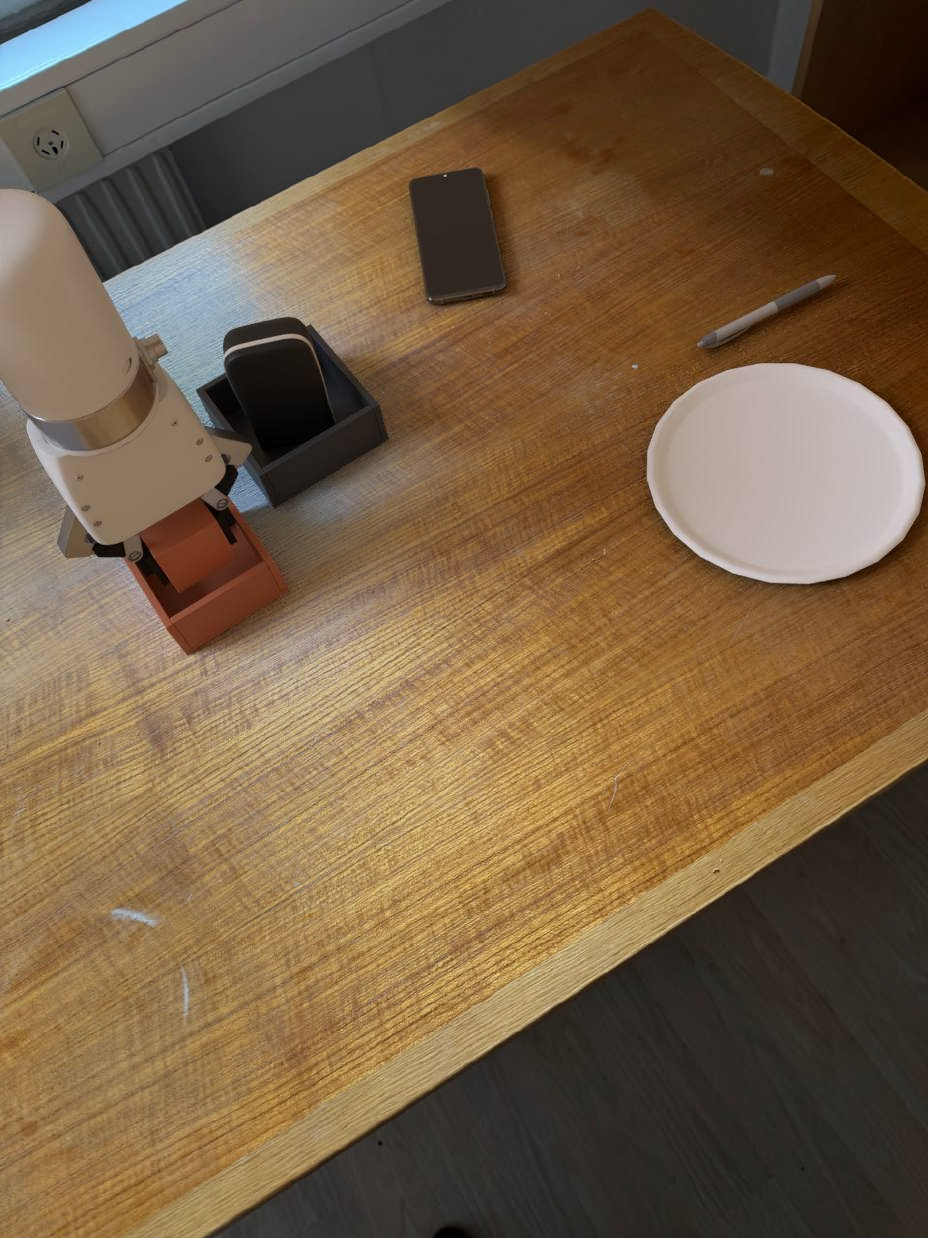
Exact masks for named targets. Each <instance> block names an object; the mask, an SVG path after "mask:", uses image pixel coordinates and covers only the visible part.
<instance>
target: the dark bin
mask: <svg viewBox="0 0 928 1238" xmlns="http://www.w3.org/2000/svg"><path fill="white" fill-rule="evenodd" d="M305 326H306V328H307V329H308V332H309V334H310V337H311V339H312V342H313V345H314V347H315V350H316V354H317V357H318V360H319V363H320V369H321V372H322V375H323V379H324V383H325V386H326V390H327V395H328V399H329V402H330V405H331V408H332V411H333V413H334V416H335V419H336V421H337V424H336V425H334V426H332V427H331V428H329V429H327V430H326V431H324V432H322V433H321V434H319V435H317V436H316V437H314V438H312V439H311V440H309V441H305V442H300V443H296V444H291V445H286V446H281V447H276V448H270V449H265V450H264V449H262V448H261V447H260V444H259V442H258V439H257V437H256V434H255V432H254V430H253V428H252V426H251V424H250V422H249V420H248V419H247V417H246V415H245V413H244V411H243V409H242V407H241V406H240V404H239V402H238V400H237V398H236V396H235V393H234V391H233V389H232V387H231V385H230V382H229V380H228V377H227V375H226V372H225V371H224V372H223V373H222V374H220V375H219V376H217V377H215V378H212V379H211V380H210V381H208V382H206V383H204V384H202V385H201V386H199V387H197V388H195V392H196V394H197V396H198V398H199V401H200V402H201V404H202V406H203V408H204V410H205V412H206V414H207V417H208V418H209V420H210V422H211V424H212V426H213V427H214V428H218V429H223V430H227V431H232V432H236V433H241V434H243V435H244V436H245V437H246V439H247V440H248V442H249V443H250V444H251V446H252V450H251V452H250V454H249V455H248V457H247V458H246V460H245V462H244V463H243V465H242V467H243V468H244V469H245V471H246V472H247V474H248V475H249V476H250V477H251V479H252V480H253V481H254V483H255V484H256V486H257V487H258V488H259V490H260V491H261V493H262V494H263V495H264V497H265V498H266V499H267V502H269V504H270V505H271V506H272V508H273V509H277V508H279V507H280V506H281V505H283V504H285V503H286V502H288V501H291V499H293V498H295V497H297V496H298V495H300V494H301V493H303V492H306V490H308V489H310V488H311V487H313V486H314V485H316V484H318V483H320V482H322V481H323V480H325V479H326V478H328V477H329V476H332V475H333V474H335V473H337V472H338V471H340V470H342V469H343V468H344V467H346V466H348V465H349V464H351V463H352V462H354V461H356V460H358V459H359V458H361V457H362V456H364V455H366V454H367V453H369V452H371V451H373V450H374V449H376V448H377V447H379V446H381V445H382V444H384V443H386V442H387V441H389V440H390V438H389V434H388V430H387V427H386V423H385V420H384V415H383V413H382V408H381V404H380V403H379V402H378V401H377V400H376V399H375V398H374V397H373V395H372V394H371V393H370V392H369V390H367V388H366V387H365V386H364V384H362V382H360V380H359V378H358V377H357V376H356V375H355V374H354V373H353V372H352V371H351V369H349V367H348V366H347V365H346V364H345V363H344V361H343V360H342V359H341V358H340V357H339V355H338V354H337V353H336V352H335V351H334V349H332V347H331V346H330V345H329V343H327V341H326V340H325V339H324V338H323V336H321V334H320V333H319V332H318V330H316V329H315V327H314V325H312V324H311V323H309V324H308V325H305Z"/></svg>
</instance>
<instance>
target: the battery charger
mask: <svg viewBox="0 0 928 1238" xmlns="http://www.w3.org/2000/svg"><path fill="white" fill-rule="evenodd" d="M306 326H307V325H305V323H304V322H303V321H301V320H300V319H299V318H297V317H294V316H283V317H277V318H272V319H268V320H267V319H266V320H263V321H258V322H254V323H249V324H245V325H242V326H238V327H235V328H232V329H230V330H229V331H227V333H226V334H225V335H224V337H223V342H222V352H223V353H222V354H223V357H222V364H223V369H224V373H225V372H226V375H227V377H228V380H229V382H230V385H231V387H232V389H233V391H234V393H235V396H236V398H237V400H238V402H239V404H240V406H241V407H242V409H243V411H244V413H245V415H246V417H247V419H248V420H249V422H250V424H251V426H252V428H253V430H254V432H255V434H256V437H257V439H258V442H259V444H260V447H261V448H262V449H264V450H265V449H270V448H276V447H281V446H286V445H291V444H296V443H300V442H305V441H309V440H311V439H312V438H314V437H316V436H317V435H319V434H321V433H322V432H324V431H326V430H327V429H329V428H331V427H332V426H334V425H336V424H337V421H336V419H335V416H334V413H333V411H332V408H331V405H330V402H329V399H328V395H327V390H326V386H325V383H324V379H323V375H322V372H321V369H320V363H319V360H318V357H317V354H316V350H315V347H314V345H313V342H312V339H311V337H310V334H309V332H308V329H307V328H306Z"/></svg>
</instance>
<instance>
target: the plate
mask: <svg viewBox="0 0 928 1238" xmlns="http://www.w3.org/2000/svg"><path fill="white" fill-rule="evenodd" d="M646 452H647V453H646V454H647V456H646V482H647V485H648V489H649V492H650V495H651V499H652V502H653V504H654V507H655V510H656V511H657V513H658V514H659V516H660V517H661V519H662V520H663V521H664V523H665V525H666V526H667V528H668V529H669V530H670V532H671V534H672V535H673V536H674V537H675V538H676V539H678V541H680V542H681V543H682V544H684V545H685V547H687V548H688V549H689V550H690V551H692V552H693V554H695V555H696V556H697V557H698V558H700V559H702V560H704V561H706V562H707V563H709V564H712V565H713V566H716V567H718V568H720V569H721V570H723V571H725V572H727V573H729V574H731V575H733V576H738V577H741V578H744V579H745V578H746V579H750V580H754V581H756V582H757V581H758V582H762V583H764V584H770V585H801V586H802V585H803V586H810V585H814V584H820V583H825V582H830V581H834V580H835V581H836V580H840V579H845V578H847V577H850V576H851V575H854V574H856V573H858V572H860V571H862V570H865V569H866V568H868V567H870V566H873V565H875V564H877V563H879V562H880V561H881V560H882V559H883V558H884V557H886V556H887V555H888V554H889V553H891V551H892V550H893V549H894V548H897V546H898V545H899V544H901V543H902V542H903V541H904V539H905V537H906V536H907V534H908V532H909V531H910V529H911V527H913V524H914V522H915V521H916V519H917V518H918V516H919V514H920V513H921V512H920V511H921V507H922V502H923V497H924V492H925V488H926V477H925V471H924V462H923V456H922V452H921V450H920V448H919V446H918V443H917V442H916V440H915V437H914V435H913V434H912V431H911V429H910V427H909V426H908V425H907V423H906V422H905V421H904V420H903V419H902V418H901V416H900V415H899V414H898V413H897V412H896V411H895V409H894V408H893V407H892V406H891V404H889V403H888V402H887V401H886V400H885V399H883V398H881V397H880V396H879V395H877V394H876V393H874V392H873V391H871V390H870V389H869V388H867V387H866V386H864V385H863V384H862V383H860V382H858V381H855V380H853V379H850V378H848V377H845V376H844V375H842V374H838V373H836V372H834V371H831V370H829V369H826V368H825V369H824V368H821V367H820V368H819V367H814V366H811V365H805V364H801V363H792V362H791V363H783V362H782V363H781V362H780V363H777V362H776V363H775V362H773V363H772V362H771V363H767V362H766V363H765V362H763V363H761V362H760V363H756V364H751V365H746V366H740V367H736V368H730V369H727V370H724V371H722V372H720V373H717V374H715V375H713V376H710V377H708V378H706V379H703V380H701V381H699V382H697V383H696V384H695V385H693V386H692V387H690V388H689V389H688V390H687V391H685V392H684V393H683V394H682V395H680V396H679V397H677V398H676V399H675V400H674V401H673V402H672V403H671V405H670V406H669V407H668V408H667V410H666V412H664V414H663V415H662V417H661V418H660V419H659V421H658V422H657V423H656V426H655V428H654V431H653V434H652V436H651V439H650V442H649V445H648V448H647V450H646Z"/></svg>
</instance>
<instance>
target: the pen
mask: <svg viewBox="0 0 928 1238" xmlns="http://www.w3.org/2000/svg"><path fill="white" fill-rule="evenodd" d="M836 278H837V275H836V274H831V275H830V274H828V275H824V276H822V277H819V278H817V279H814V280H812V281H810V282H808V283H806V284H804V285H802V286H800V287H798V288H795V289H793V290H792V291H790V292H788V293H786V294H784V295H782V296H780V297H778V298H776V299H774V300H772V301H770V302H769V303H766V304H765V305H763V306H761V307H759V308H757V309H756V310H753V311H751V312H749V313H747V314H745V315H742V317H740V318H737V319H736V320H733V321H732V322H729V323H727V324H726V325H724V326H721V327H720V328H717V329H715V330H713V331H712V332H710V333H707V334H706V335H704V336H703V337H702V338H701V339H700V341H699V342H697V344H696V345H697V347H698V348H702V347H703V348H706V349H714V348H718V347H721V346H722V345H724V344H726V343H728V342H730V341H733V340H734V339H735V338H737V337H738V336H740V335H741V334H743V333H744V332H746V331H748V330H749V329H750V328H751V327H752V326H753V325H755V324H757V323H758V322H760V321H762V320H764V319H766V318H768V317H769V316H772V315H775V314H777V313H779V312H781V311H783V310H785V309H787V308H789V307H791V306H793V305H795V304H797V303H799V302H800V301H803V300H805V299H806V298H808V297H810V296H813V295H814V294H816V293H818V292H820V291H822V290H824V289H825V288H826V287H828V286H829V285H831V284H832V283H833V282H834V281H835V280H836Z"/></svg>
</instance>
